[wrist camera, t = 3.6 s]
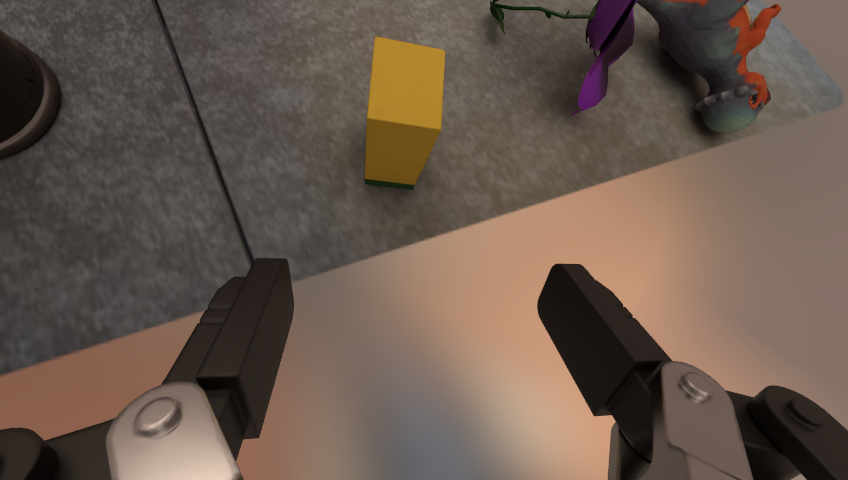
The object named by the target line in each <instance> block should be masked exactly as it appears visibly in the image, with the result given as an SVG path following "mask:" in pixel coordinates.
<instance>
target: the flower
mask: <svg viewBox="0 0 848 480" xmlns="http://www.w3.org/2000/svg"><path fill="white" fill-rule="evenodd" d="M497 1H499V0H493V2H491V1H490V5H491V6H490V11H491V13H492V15H493V16H494V18H495V19H496V20H498V21H499V23H500V28H501V30H502V31H503V33H504V34H505V32H504V26H503V21H502V20H503V19H504V13H503V11H502V9H501V8H504V9H510V10H539V11H542V12H545V13H546V16H547V17H548V18H551V15H554V16H557V17H560V18H589V19H588V23H587V29H586V43H587V38H588V37H589V41H590V49H591V47H592V48H593V50H594V57H597V56H596V54H595V50H597V49H599V51H600V54H599V56H598V57H597V59H596V60H595V62H594V63H593V64H592V66H591V67H590V69H589V71H588V74H587V76H586V78H585V80H584V82H583V84H582V88H581V92H580V97H579V101H578V106H579V107H580V108H581V109H582V110H579V111H576V112H573V113H572V115H573V114H575V113H578V112H580V111H583V110H586V109H589V108H591V107H594V106H596V105H597V104H598V103H599V102H600V101H601V100H602V99H603V98H604V97H605V96H606V92H607V85H608V67H609V66H610V65H611V64H612V63H614V62H615V61H616V60H617V59H618V58H620V56H621V55H622V54H623V53H624V52H625V51H626V50H627V49H628V48H629V47H630V46H631V45H632V43H633V36H634V16H633V7H634V5H635V4H636V2H637V0H599V1H598V2H597V4H596V5H595V6H594V8H593V10H592V11H591V14H590V15H568V14H569V10H568V12H567V14H566V15H563V14H560V13H557V12H554V11H550V10H547V9H544V8H541V7H513V6H506V5H500V4H495V2H497ZM587 44H588V43H587Z"/></svg>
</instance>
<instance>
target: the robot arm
mask: <svg viewBox="0 0 848 480" xmlns="http://www.w3.org/2000/svg"><path fill="white" fill-rule="evenodd" d="M58 103H59V89H58V84H57V81H56V78H55V76H54V74H53V72H52V71H51V69H50V68H49V67H48V65H47V64H46V63H45V62H44V61H43V60H42V59H41V58H40V57H38V56H37V55H36V54H35V53H33V52H32V51H31V50H29V49H28V48H27V47H25V46H24V45H23V44H21V43H20V42H18V41H17V40H15V39H13V38H11V37H9V36H8V35H7V34H5V33H4V32H3V31H1V30H0V158H2V157H5V156H8V155H11V154H13V153H15V152H17V151H19V150H21V149H23V148H25V147H26V146H28V145H29V144H31V143H32V142H34V141H35V140H36V139H37V138H38V137H39V136H41V134H42V133H43V132H44V131H45V130H46V129H47V128H48V126H49V125H50V123H51V122H52V120H53V118H54V116H55V114H56V111H57V108H58ZM537 308H538V314H539V317H540V319H541V321H542V323H543V324H544V326H545V328H546V330H547V332H548V334H549V335H550V337H551V339H552V341H553V343H554V345H555V346H556V348H557V350H558V352H559V354H560V355H561V357H562V359H563V361H564V362H565V365H566V366H567V368H568V370H569V372H570V374H571V375H572V377H573V379H574V381H575V383H576V384H577V386H578V388H579V390H580V392H581V393H582V395H583V397H584V399H585V401H586V403H587V404H588V406H589V408H590V410H591V412H592V413H593V415H594V416H604V415H612V416H613V418H614V419H615V421H616V422H615V424H614V425H613V427H612V430H611V441H610V455H609V469H608V480H791V479H792V478H794V477H796V476H798V475H799V474H802V475H803V476H804V477H805V478H806V479H807V480H848V431H847V430H846V429H845V428H844V427H843V426H842V425H841V424H840V423H839V422H838V421H837V420H835V419H834V418H833V417H832V416H831V415H830V414H828V413H827V412H826V411H825V410H824V409H823V408H821V407H820V406H819V405H817V404H816V403H814V402H813V401H811V400H810V399H808V398H806V397H805V396H803V395H801V394H799V393H797V392H795V391H792V390H790V389H787V388H784V387H780V386H768V387H766V388H765V389H763V390H762V391H761V392H760V393H759V394H758V395H756V396H755V397H754V398H753V397H750V396H746V395H742V394H738V393H734V392H730V391H726V390H724V389H723V387H721V385H720V384H719V383H717V381H715V380H714V379H713V378H712V377H710V376H709V375H707V374H706V373H705V372H703V371H701V370H700V369H698V368H696V367H694V366H692V365H689V364H686V363H683V362H678V361H672V360H671V359H670V358H669V357H668V355H667V354H666V353H665V352H664V351H663V350H662V348H661V347H660V346H659V345H658V344H657V343H656V342H655V340H654V339H653V338H652V337H651V336H650V335H649V334H648V332H647V331H646V330H645V329H644V328H643V327H642V326H641V325H640V323H639V322H638V321H637V320H636V319H635V318H633V317H632V316H633V315H632V314H631V313H630V312H629V311H628V309H627V308H626V307H623V304H622V303H621V301H620V300H619V299H618V298H617V297H616V296H615V295H614V293H613V292H612V291H610V290H609V289H608V288H606V287H605V286H603V285H602V284H601V283H599V282H598V281H596V280H595V279H594V278H593V277H592V276H591V275H590V274H589V272H588V271H587V270H586V269H585V268H584V267H583V266H582V265H580V264H555V265H554V266H553V267H552V268H551V270H550V273H549V275H548V277H547V280H546V282H545V285H544V287H543V289H542V292H541V294H540V296H539V299H538V305H537ZM293 309H294V299H293V292H292V285H291V278H290V271H289V265H288V261H287V259H280V258H257V259H255V261H254V262H253V264H252V266H251V268H250V270H249V272H248V274H247V276H246V277H233V278H232V279H231V280H229V281H228V282H227V283H226V284H224V285H223V286H222V287H221V288H219V289H218V290H217V292H216V293H215V295H214V297H213V298H212V300H211V302H210V304H209V305H208V309H207V310H205V312H204V314H203V315H202V317H201V319H200V323H199V324H197V326H196V327H195V329H194V331H193V332H192V334H191V336H190V337H189V339H188V341H187V343H186V344H185V346H184V348H183V349H182V351H181V353H180V354H179V356H178V358H177V359H176V361H175V363H174V365H173V366H172V368H171V370H170V371H169V373H168V375H167V377H166V378H165V380H164V381H163V382H162V384H161V385H160V386H158V387H155V388H153V389H151V390H149V391H147V392H145V393H143V394H142V395H140V396H139V397H137V398H136V399H134V400H133V401H132V402H131V403H129V404H128V405H127V406H126V407H125V408H124V409H123V410H122V411H121V412H120V413H119V414H118V416H117V417H116V418H114V419H111V420H109V421H106V422H103V423H100V424H97V425H93V426H90V427H87V428H84V429H81V430H77V431H74V432H71V433H68V434H65V435H61V436H59V437H55V438H52V439H49V440H45V441H44V440H43V439H42V438H41V437H40V436H39V435H38V434H36V433H35V432H34V431H32V430H30V429H26V428H9V429H3V430H0V480H244V479H243V477H242V475H241V472H240V470H239V468H238V466H237V463H236V460H237V457H238V454H239V450H240V447H241V444H242V441H243V439H252V438H259V436H260V433H261V429H262V426H263V422H264V419H265V415H266V411H267V408H268V404H269V401H270V397H271V393H272V390H273V386H274V383H275V379H276V376H277V372H278V369H279V365H280V362H281V358H282V354H283V351H284V347H285V343H286V340H287V337H288V333H289V329H290V326H291V322H292V318H293V311H294V310H293Z"/></svg>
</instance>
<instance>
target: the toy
mask: <svg viewBox="0 0 848 480" xmlns="http://www.w3.org/2000/svg"><path fill="white" fill-rule="evenodd" d="M748 1H749V0H637V3H638V4H639V5H641V6H642V7H643V8H645V9H646V10H647V11H648V12H649V13H650V14H651V15H652V16H653V18H654V19H655V20H656V21H657V22H658V26H659V30H660V31H659V36H658V37H659V41H660V45H661V46H662V48H663V49H664V50H665V51H667V52H668V53H670V54H671V56H672V57H673V58H674V59H675V60H676V61H677V62H678V63H679V64H680V65H681V66H682V67H684V68H685V69H687V70H689V71H691V72H693V73H696V74H698V75H700V76H702V77H703V78H704V79H705V80H706V81H707V82H708V85H709V88H710V91H709V93H708V96H707V98H705V99H704V100H703V101H701V102H699V103H698V104H696V106H697V107H696V108H695V109H694V110H696V111H698V112H702V117H703V120H704V122H705V124H706V125H707V126H708V127H709V128H710V129H712V130H713V131H716V132H719V133H729V132H735V131H739V130H742V129H744V128H746V127H748V126H749V125H750V124H751V123H752V122H753V121H754V120H755V118H756V117H757V114H758V113H759V112H760V111H761V110H762V109H763V107H764V105H766V104H767V103H768V102H769V101H770V99H771V97H770V92H769V90H768V88H767V84H766V81H765V79H764V77H763V76H762V75H760V74H758V73H755V72H748V70H747V67H746V56H747V54H748V52H749V51H751V50H752V49H753V48H755V47H756V46H758V45H759V44H760V43H761V42H762V40H763V39H764V37H765V32H766V30H767V29H768V27H769V24H770V21H771V19H772V18H774V17H775V16H777V14H778V13H779V12H780V10H781V7H780V6H779V5H778V4H775V5H773V6H772V7H770V8H766V9H763V10H762V11H760V13H759V14H758V16H757V17H756V18H755V19H754V21H753V23H752V25H751V17H750V13H749V9H748V6H747V5H746V3H747V2H748Z"/></svg>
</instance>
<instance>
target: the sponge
mask: <svg viewBox="0 0 848 480" xmlns="http://www.w3.org/2000/svg"><path fill="white" fill-rule="evenodd" d="M444 65H445V50H441V49H436V48H431V47H426V46H421V45H416V44H411V43H406V42H401V41H396V40H391V39H386V38H381V37H375V42H374V52H373V62H372V72H371V82H370V92H369V102H368V112H367V130H366V157H365V184H369V185H378V186H386V187H394V188H403V189H411V190H412V189H413V187H414V185H415V183H416V181H417V179H418V177H419V175H420V173H421V171H422V169H423V167H424V164H425V162H426V160H427V158H428V156H429V154H430V152H431V150H432V148H433V146H434V143H435V141H436V139H437V137H438V135H439V133H440V131H441V124H442V104H443V85H444Z"/></svg>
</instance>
